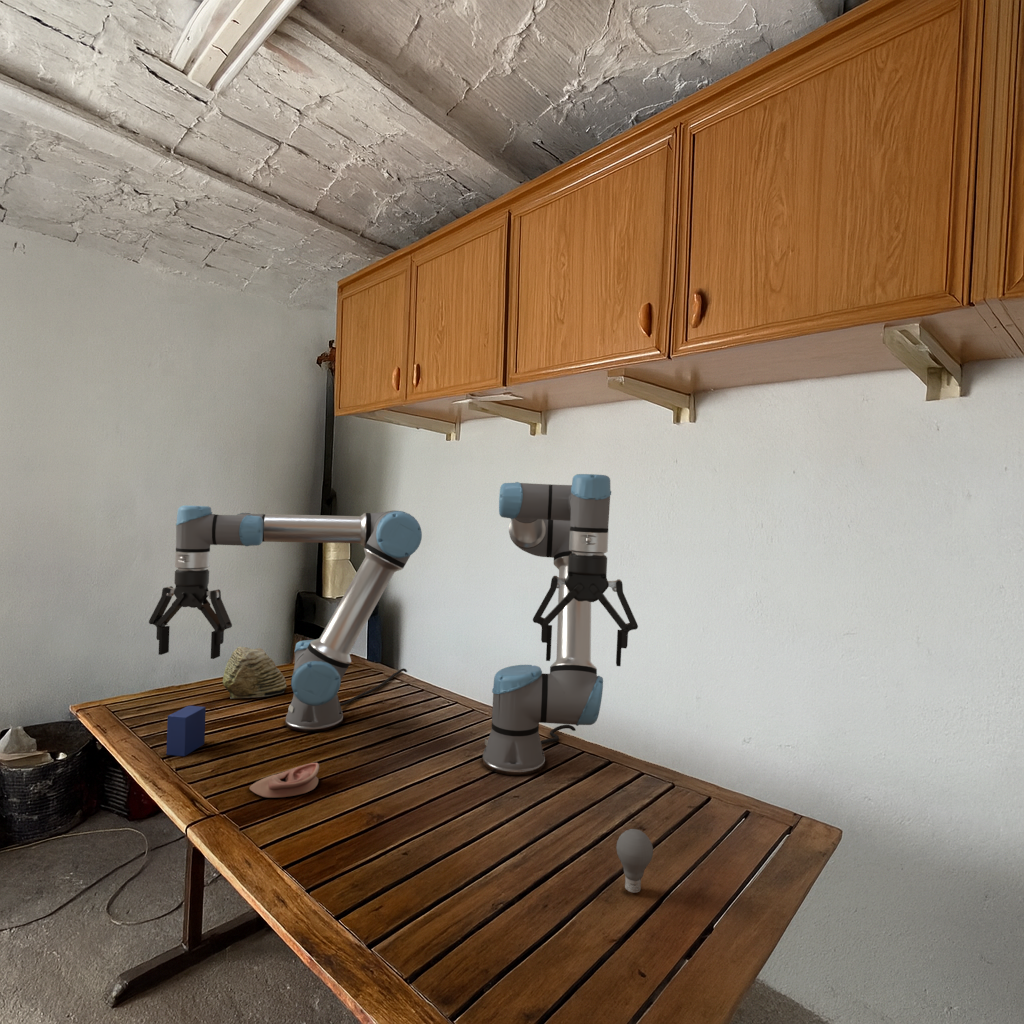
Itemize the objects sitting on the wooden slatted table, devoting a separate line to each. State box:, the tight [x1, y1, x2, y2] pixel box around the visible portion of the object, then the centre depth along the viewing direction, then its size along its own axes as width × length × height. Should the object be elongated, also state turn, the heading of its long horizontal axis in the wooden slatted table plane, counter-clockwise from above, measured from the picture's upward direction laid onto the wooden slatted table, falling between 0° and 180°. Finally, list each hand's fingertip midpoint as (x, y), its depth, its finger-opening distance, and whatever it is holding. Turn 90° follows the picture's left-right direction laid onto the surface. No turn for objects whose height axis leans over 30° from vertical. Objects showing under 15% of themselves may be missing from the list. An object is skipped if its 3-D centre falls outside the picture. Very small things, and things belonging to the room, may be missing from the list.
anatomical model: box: [249, 762, 320, 799], centre depth 137 cm, size 13×4×12 cm
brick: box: [165, 705, 207, 757], centre depth 155 cm, size 5×8×9 cm, turn 173°
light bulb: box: [615, 828, 654, 894], centre depth 106 cm, size 6×6×10 cm
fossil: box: [222, 646, 288, 699], centre depth 198 cm, size 9×18×15 cm, turn 132°
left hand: (189, 655), depth 155 cm, fingers open, 13 cm apart
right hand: (583, 662), depth 124 cm, fingers open, 13 cm apart
